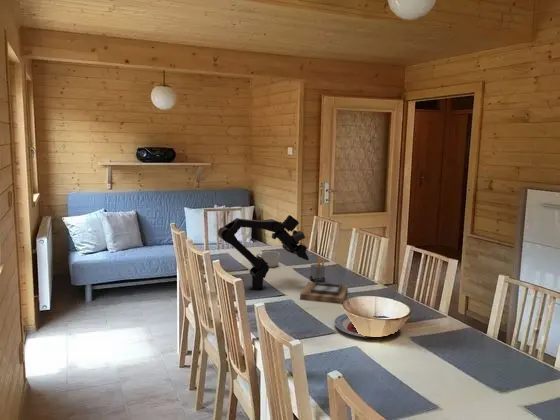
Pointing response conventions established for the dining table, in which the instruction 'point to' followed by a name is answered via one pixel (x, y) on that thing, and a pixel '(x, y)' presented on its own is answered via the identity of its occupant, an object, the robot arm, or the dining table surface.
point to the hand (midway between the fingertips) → (304, 257)
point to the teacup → (270, 257)
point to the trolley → (318, 271)
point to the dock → (324, 292)
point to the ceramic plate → (349, 324)
